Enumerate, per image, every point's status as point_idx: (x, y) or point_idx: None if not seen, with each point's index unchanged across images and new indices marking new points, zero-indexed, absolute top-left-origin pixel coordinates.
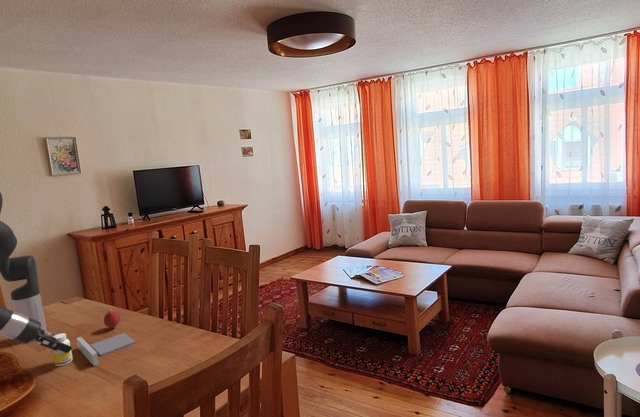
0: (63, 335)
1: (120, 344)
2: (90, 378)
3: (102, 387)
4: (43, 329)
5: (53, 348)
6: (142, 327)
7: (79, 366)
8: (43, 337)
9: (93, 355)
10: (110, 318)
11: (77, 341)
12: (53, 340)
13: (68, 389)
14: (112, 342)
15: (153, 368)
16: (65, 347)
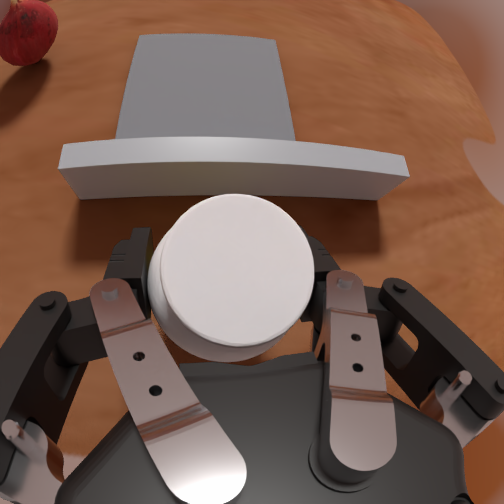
0: (274, 222)
1: (254, 68)
2: (452, 241)
3: (499, 232)
4: (177, 481)
5: (408, 348)
6: (149, 4)
7: (335, 246)
8: (452, 438)
9: (405, 174)
10: (40, 21)
11: (82, 176)
12: (450, 336)
13: (472, 314)
14: (196, 76)
15: (467, 117)
16: (330, 263)
